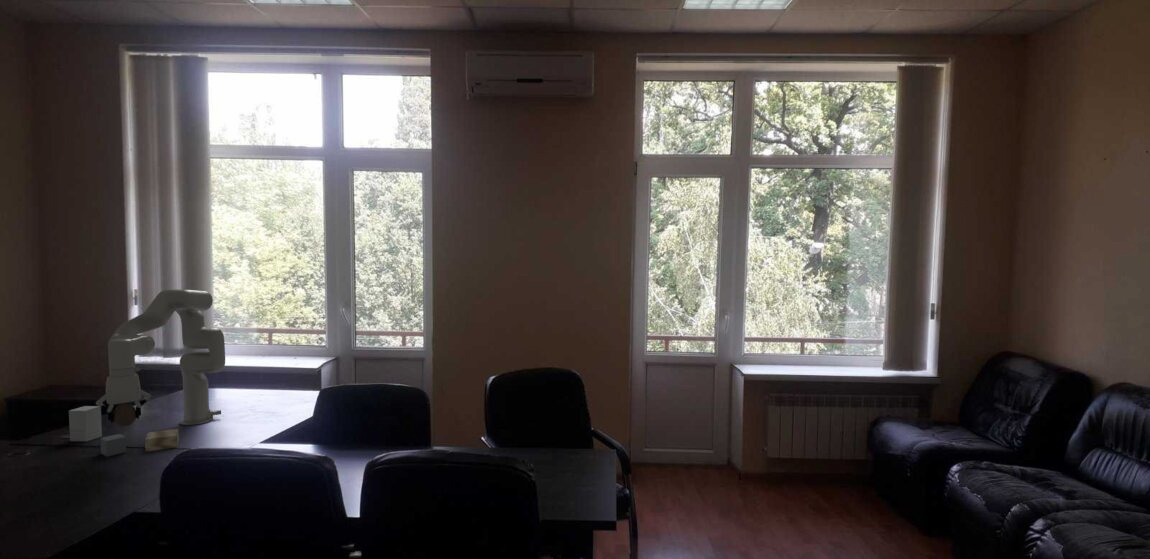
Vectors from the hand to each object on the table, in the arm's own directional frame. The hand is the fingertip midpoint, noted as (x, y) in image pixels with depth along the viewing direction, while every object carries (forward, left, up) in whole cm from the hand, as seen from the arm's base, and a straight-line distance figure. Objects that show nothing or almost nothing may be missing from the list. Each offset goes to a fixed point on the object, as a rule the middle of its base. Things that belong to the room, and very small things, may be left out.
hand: (124, 419), depth 213 cm
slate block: (+3, -9, -14) cm, 18 cm away
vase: (0, 0, -2) cm, 2 cm away
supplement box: (+11, -37, -15) cm, 42 cm away
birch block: (-12, -7, -15) cm, 20 cm away
